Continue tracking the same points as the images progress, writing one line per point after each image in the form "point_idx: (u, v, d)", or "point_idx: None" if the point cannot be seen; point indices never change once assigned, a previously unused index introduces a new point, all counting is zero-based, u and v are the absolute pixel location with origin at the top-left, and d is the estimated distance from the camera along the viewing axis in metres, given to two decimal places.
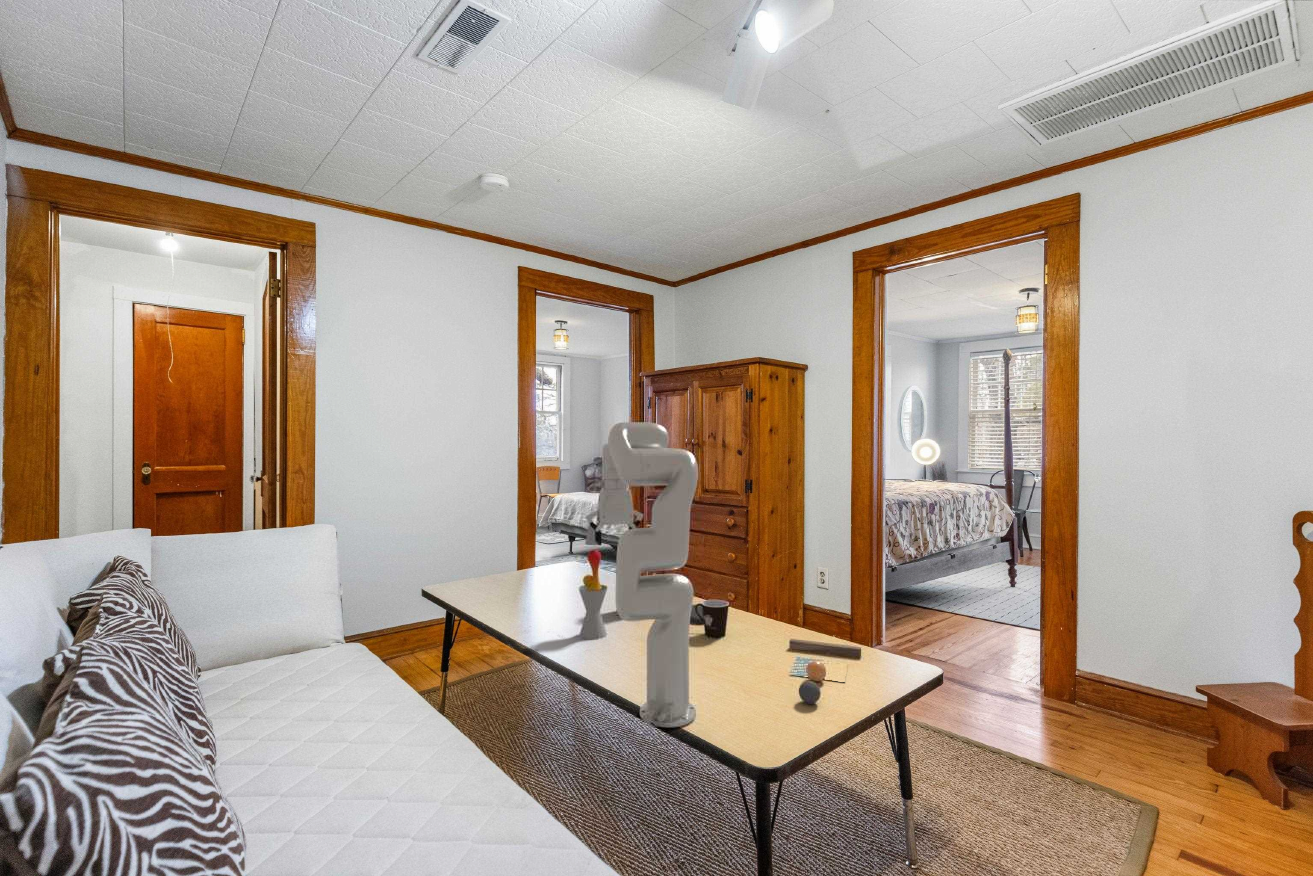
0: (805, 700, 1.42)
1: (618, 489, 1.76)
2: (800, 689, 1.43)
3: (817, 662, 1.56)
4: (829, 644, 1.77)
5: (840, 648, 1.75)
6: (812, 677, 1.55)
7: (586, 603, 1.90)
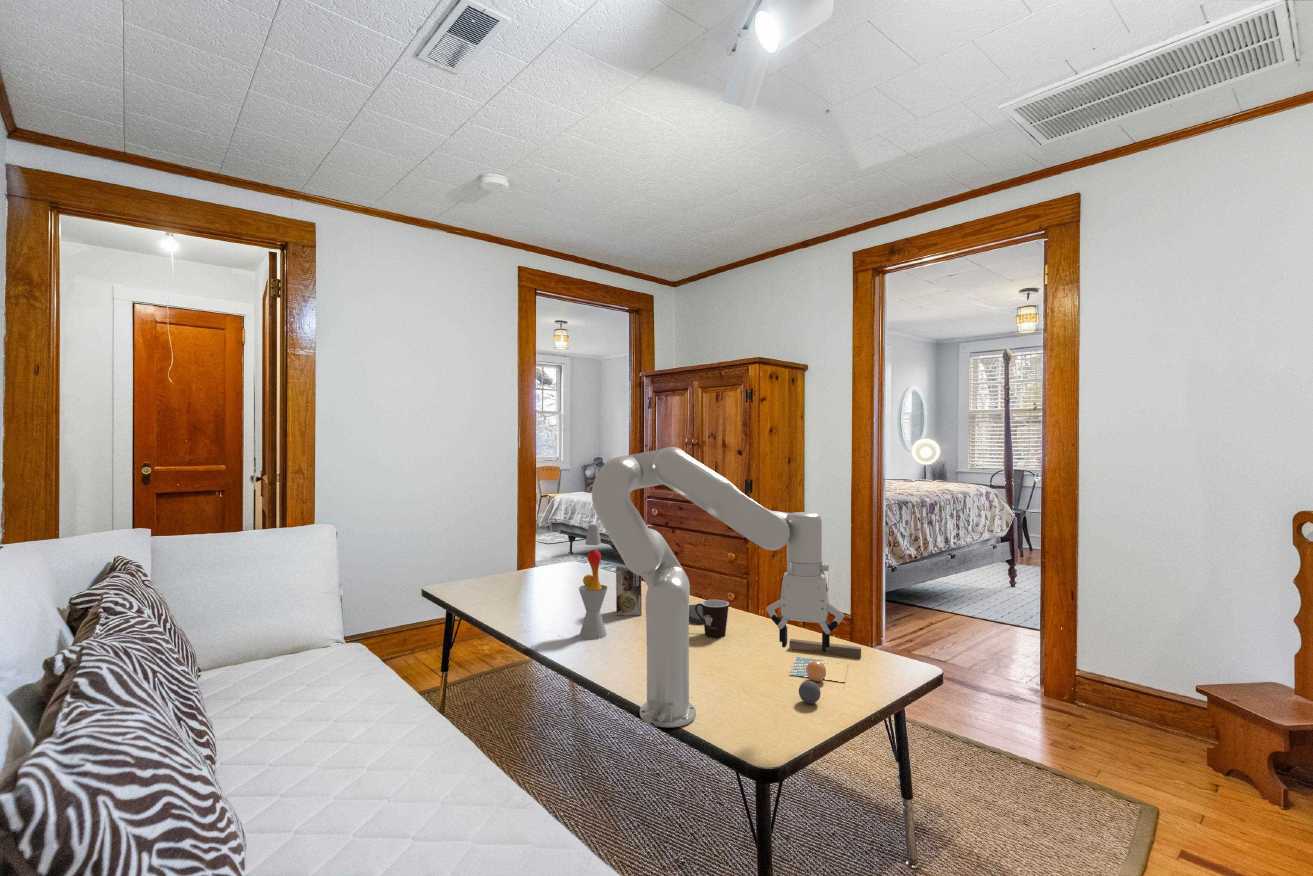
0: (805, 700, 1.42)
1: None
2: (800, 689, 1.43)
3: (817, 662, 1.56)
4: None
5: (840, 648, 1.75)
6: (812, 677, 1.55)
7: (586, 603, 1.90)
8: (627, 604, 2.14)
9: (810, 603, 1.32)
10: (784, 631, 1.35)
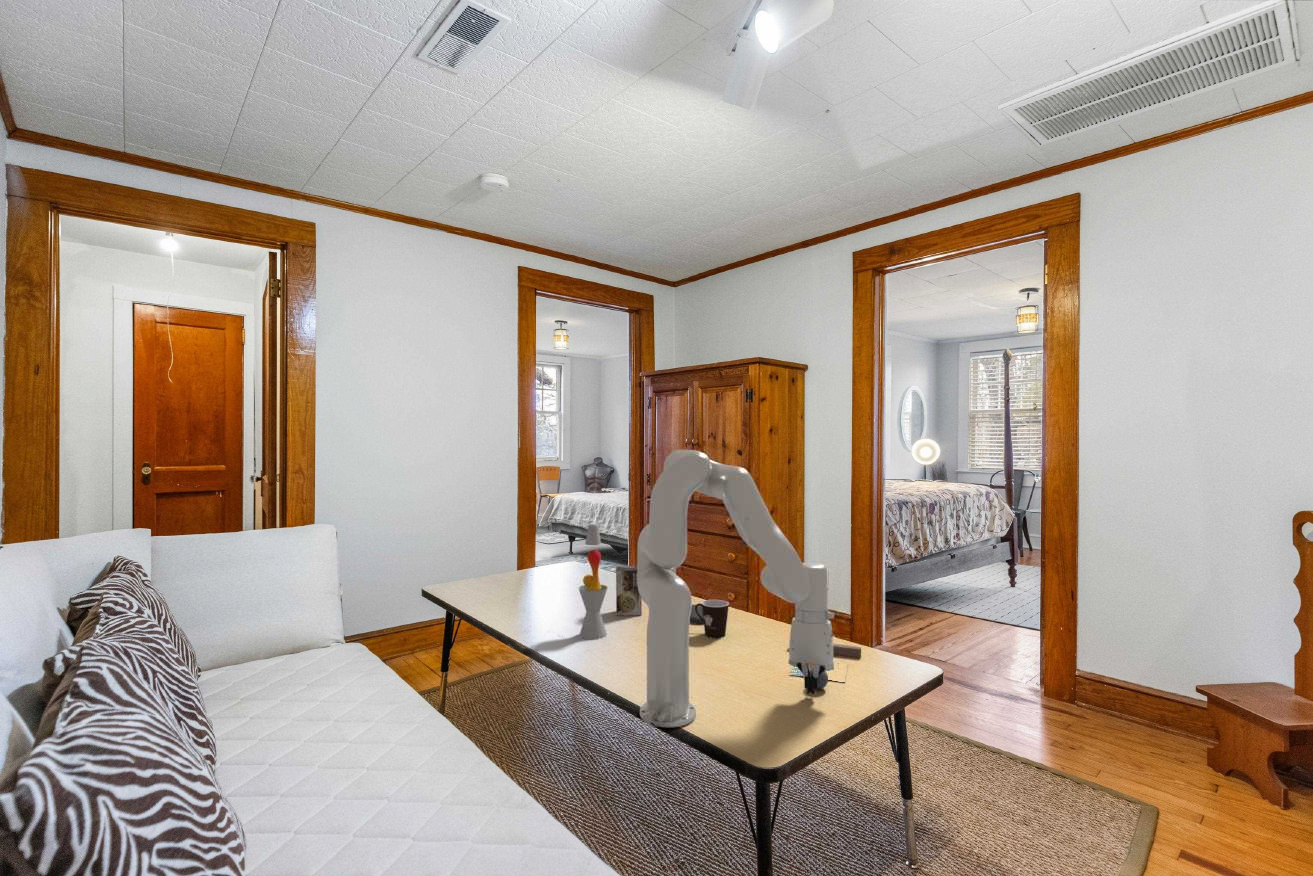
0: None
1: None
2: None
3: None
4: None
5: (840, 648, 1.75)
6: None
7: (586, 603, 1.90)
8: (627, 604, 2.14)
9: (817, 648, 1.44)
10: (809, 678, 1.45)
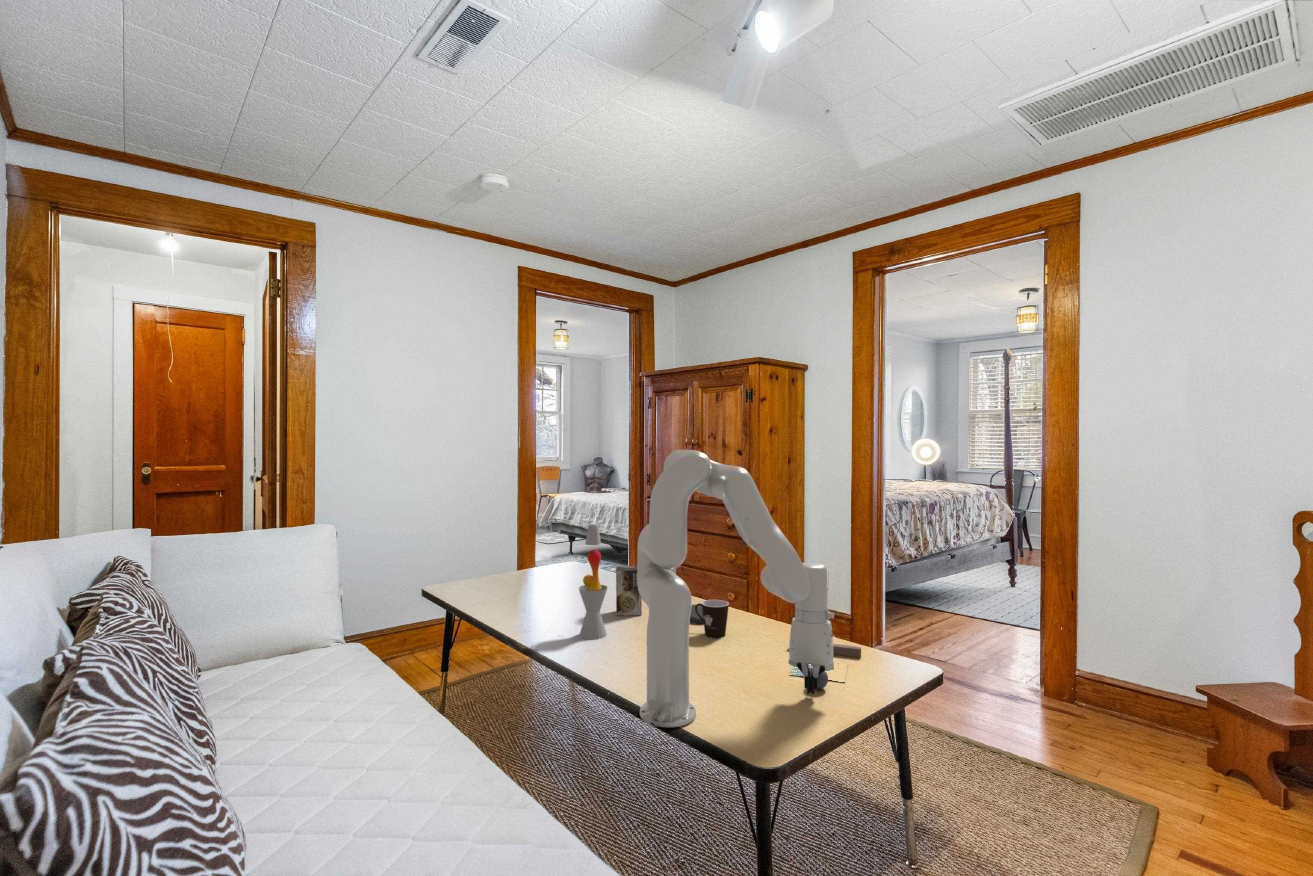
0: None
1: None
2: None
3: None
4: None
5: (840, 648, 1.75)
6: None
7: (586, 603, 1.90)
8: (627, 604, 2.14)
9: (817, 648, 1.44)
10: (809, 678, 1.45)
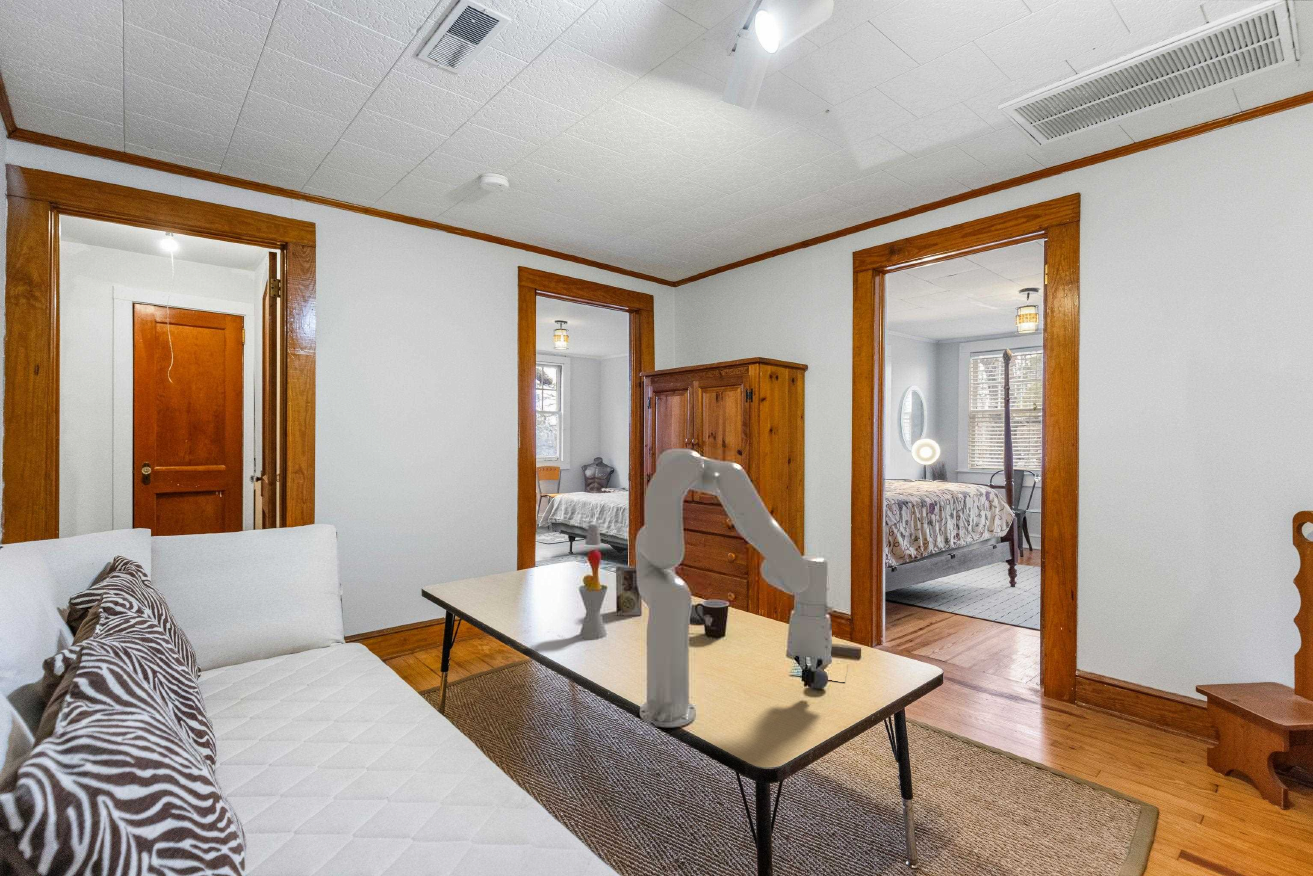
0: None
1: None
2: None
3: None
4: None
5: (840, 648, 1.75)
6: None
7: (586, 603, 1.90)
8: (627, 604, 2.14)
9: (815, 641, 1.44)
10: (806, 672, 1.45)
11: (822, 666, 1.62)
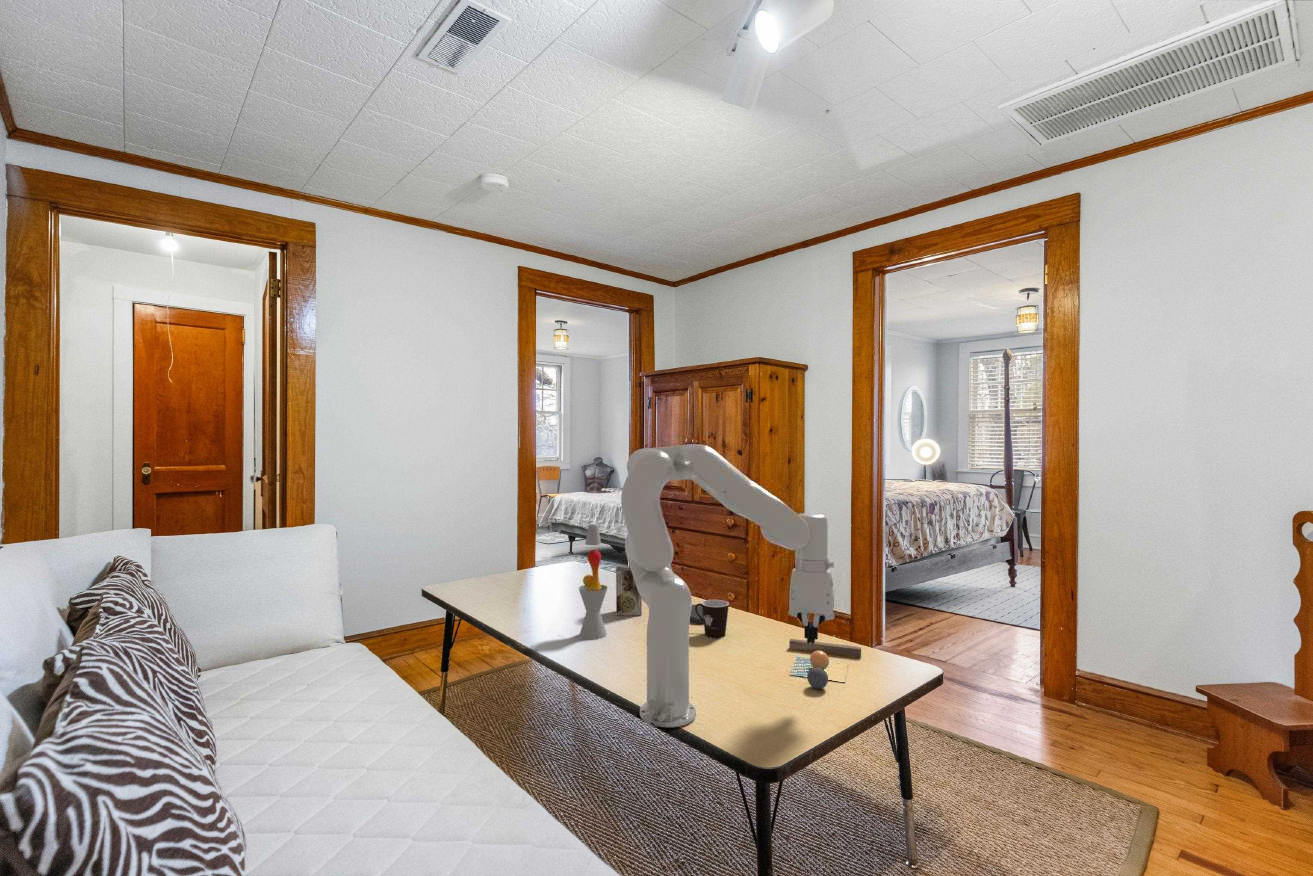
0: None
1: None
2: None
3: None
4: (829, 644, 1.77)
5: (840, 648, 1.75)
6: None
7: (586, 603, 1.90)
8: (627, 604, 2.14)
9: (817, 597, 1.44)
10: (809, 628, 1.45)
11: (822, 666, 1.62)
